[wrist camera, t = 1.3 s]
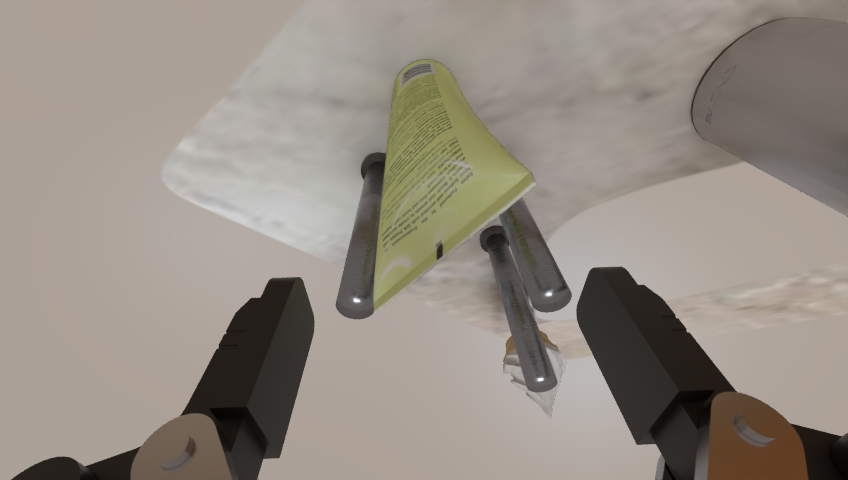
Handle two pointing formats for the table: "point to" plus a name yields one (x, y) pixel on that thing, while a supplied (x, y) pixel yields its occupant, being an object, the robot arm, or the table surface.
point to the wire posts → (529, 255)
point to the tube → (437, 178)
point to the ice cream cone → (514, 369)
